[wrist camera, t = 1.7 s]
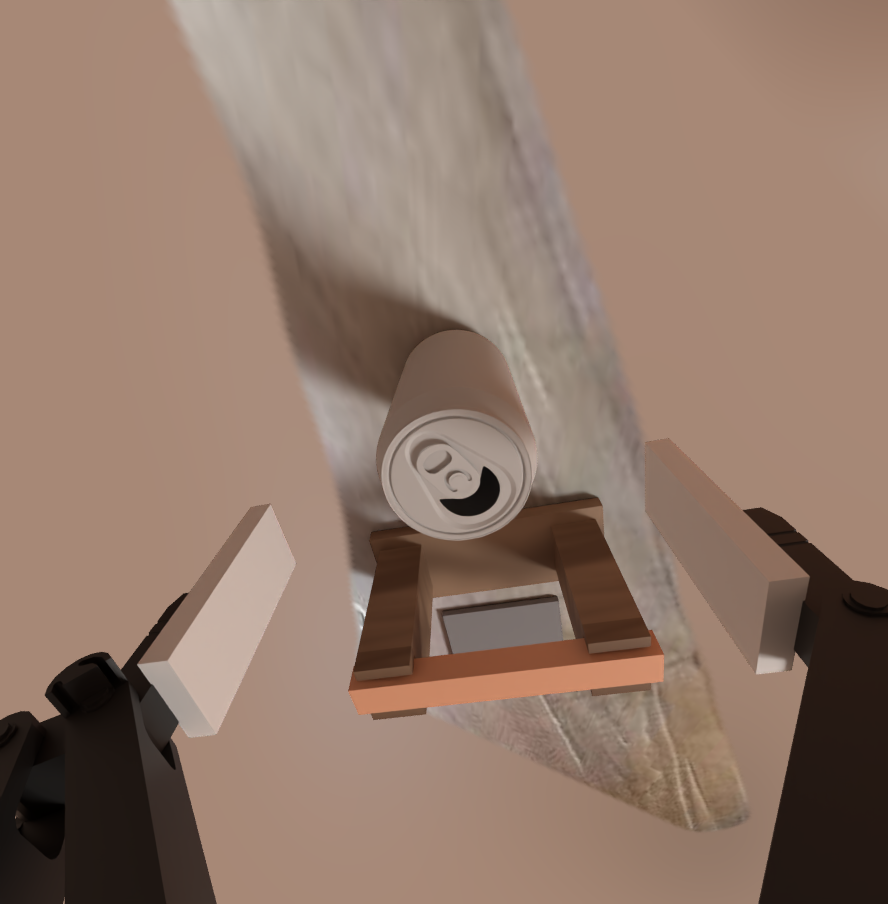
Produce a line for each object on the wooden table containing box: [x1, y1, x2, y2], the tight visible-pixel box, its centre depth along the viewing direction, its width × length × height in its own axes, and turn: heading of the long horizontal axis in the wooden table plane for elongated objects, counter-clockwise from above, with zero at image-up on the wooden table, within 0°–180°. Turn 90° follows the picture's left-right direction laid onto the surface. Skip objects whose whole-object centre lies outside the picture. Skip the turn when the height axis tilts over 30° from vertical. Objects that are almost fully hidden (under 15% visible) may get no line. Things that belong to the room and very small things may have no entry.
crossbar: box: [348, 630, 664, 715], centre depth 24 cm, size 2×16×2 cm, turn 101°
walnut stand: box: [353, 498, 651, 720], centre depth 29 cm, size 6×16×11 cm, turn 101°
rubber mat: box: [443, 596, 563, 654], centre depth 38 cm, size 9×9×1 cm
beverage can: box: [376, 330, 537, 541], centre depth 22 cm, size 6×6×12 cm
